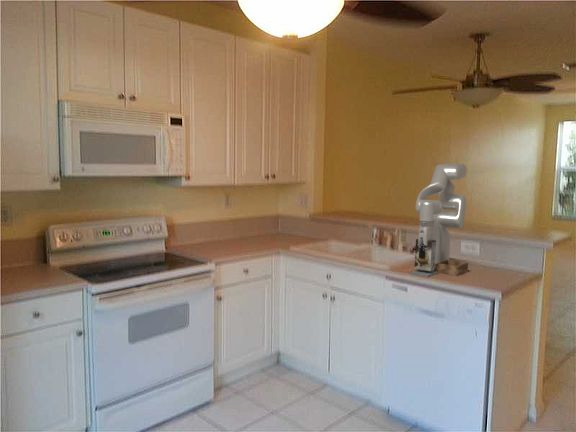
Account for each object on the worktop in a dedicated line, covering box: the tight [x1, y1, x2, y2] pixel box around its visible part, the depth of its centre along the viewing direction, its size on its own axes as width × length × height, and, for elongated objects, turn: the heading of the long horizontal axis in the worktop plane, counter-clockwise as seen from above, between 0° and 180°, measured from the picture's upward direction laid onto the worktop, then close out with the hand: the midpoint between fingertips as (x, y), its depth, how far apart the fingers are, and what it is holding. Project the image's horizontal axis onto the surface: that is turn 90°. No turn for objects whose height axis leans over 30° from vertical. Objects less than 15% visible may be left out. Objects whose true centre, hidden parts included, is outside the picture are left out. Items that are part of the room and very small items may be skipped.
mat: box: [410, 269, 438, 278], centre depth 241 cm, size 10×12×1 cm
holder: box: [435, 259, 469, 277], centre depth 246 cm, size 12×14×5 cm
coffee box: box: [414, 238, 436, 271], centre depth 240 cm, size 9×6×16 cm
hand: (424, 256), depth 240 cm, fingers closed on coffee box, 6 cm apart
